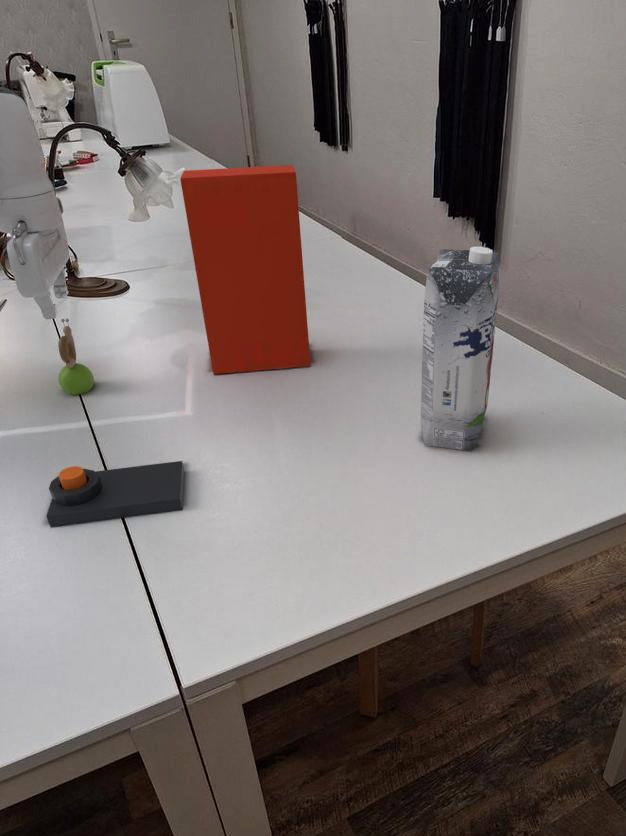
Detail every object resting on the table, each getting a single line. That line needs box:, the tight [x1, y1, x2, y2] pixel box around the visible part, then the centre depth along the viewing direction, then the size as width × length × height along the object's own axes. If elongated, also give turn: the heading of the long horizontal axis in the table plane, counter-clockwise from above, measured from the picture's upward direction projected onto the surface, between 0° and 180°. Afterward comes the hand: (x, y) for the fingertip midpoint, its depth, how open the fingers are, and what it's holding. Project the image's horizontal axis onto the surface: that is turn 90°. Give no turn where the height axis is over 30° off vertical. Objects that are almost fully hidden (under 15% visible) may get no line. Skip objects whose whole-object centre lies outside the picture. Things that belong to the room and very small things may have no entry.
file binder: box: [179, 164, 312, 375], centre depth 110 cm, size 8×17×32 cm, turn 99°
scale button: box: [58, 465, 87, 490], centre depth 82 cm, size 3×3×2 cm
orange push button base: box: [46, 460, 186, 529], centre depth 84 cm, size 16×9×4 cm, turn 101°
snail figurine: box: [57, 318, 95, 396], centre depth 107 cm, size 5×6×12 cm
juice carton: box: [420, 246, 500, 452], centre depth 89 cm, size 9×10×27 cm
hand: (57, 306), depth 102 cm, fingers open, 8 cm apart
